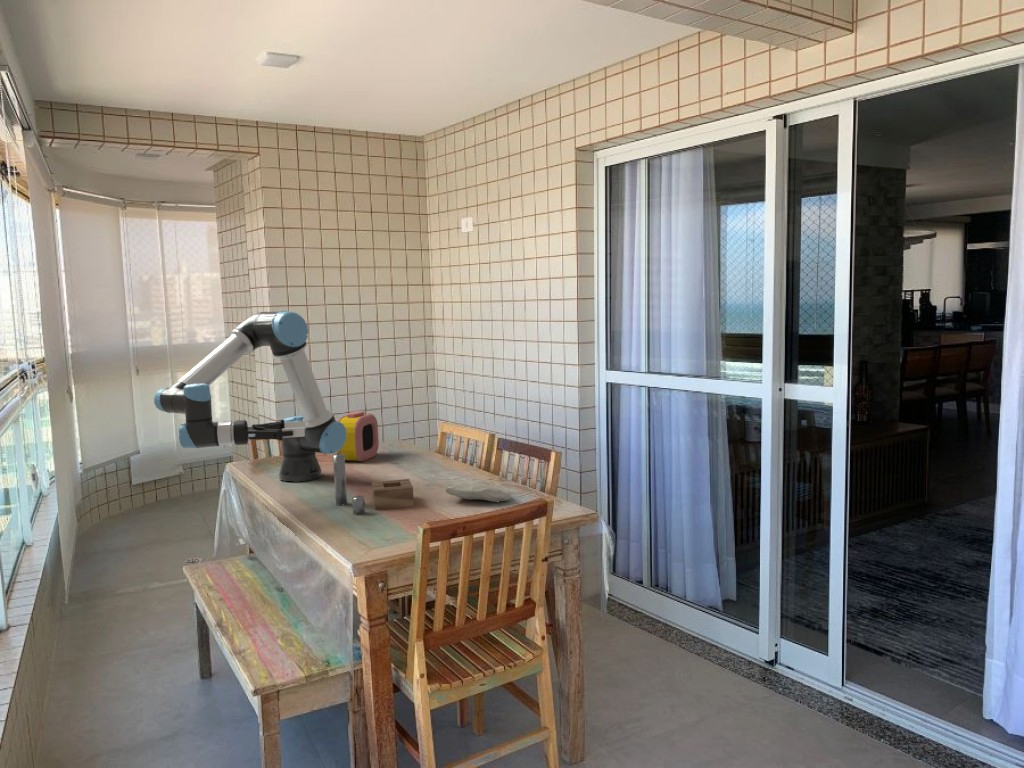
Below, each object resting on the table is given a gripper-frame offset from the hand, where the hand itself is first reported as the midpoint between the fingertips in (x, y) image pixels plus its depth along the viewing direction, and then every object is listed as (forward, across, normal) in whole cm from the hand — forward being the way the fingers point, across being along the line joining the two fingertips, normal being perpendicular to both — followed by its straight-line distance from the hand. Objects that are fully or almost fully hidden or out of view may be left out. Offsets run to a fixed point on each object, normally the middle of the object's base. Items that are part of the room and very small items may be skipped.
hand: (305, 428), depth 242 cm
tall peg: (+10, 0, -25) cm, 27 cm away
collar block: (+26, +5, -25) cm, 36 cm away
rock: (+51, +8, -26) cm, 58 cm away
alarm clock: (+18, -68, -25) cm, 75 cm away
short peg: (+15, +13, -25) cm, 32 cm away
